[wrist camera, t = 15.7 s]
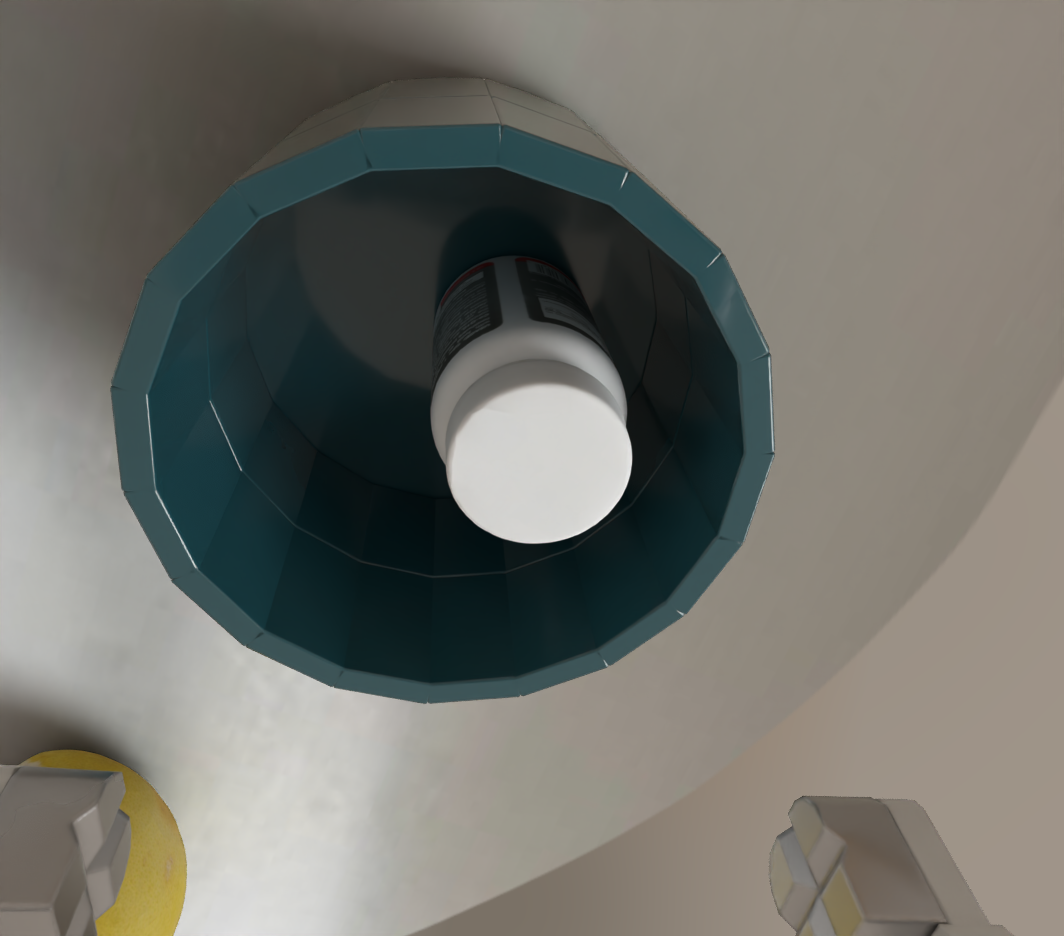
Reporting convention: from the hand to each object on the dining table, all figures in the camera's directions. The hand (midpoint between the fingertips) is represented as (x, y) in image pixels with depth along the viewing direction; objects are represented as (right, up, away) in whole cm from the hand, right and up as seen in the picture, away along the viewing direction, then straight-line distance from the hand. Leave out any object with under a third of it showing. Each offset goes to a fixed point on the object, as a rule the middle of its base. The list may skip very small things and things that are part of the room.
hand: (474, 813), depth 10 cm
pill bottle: (0, +8, +15) cm, 17 cm away
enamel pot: (-2, +9, +15) cm, 17 cm away
